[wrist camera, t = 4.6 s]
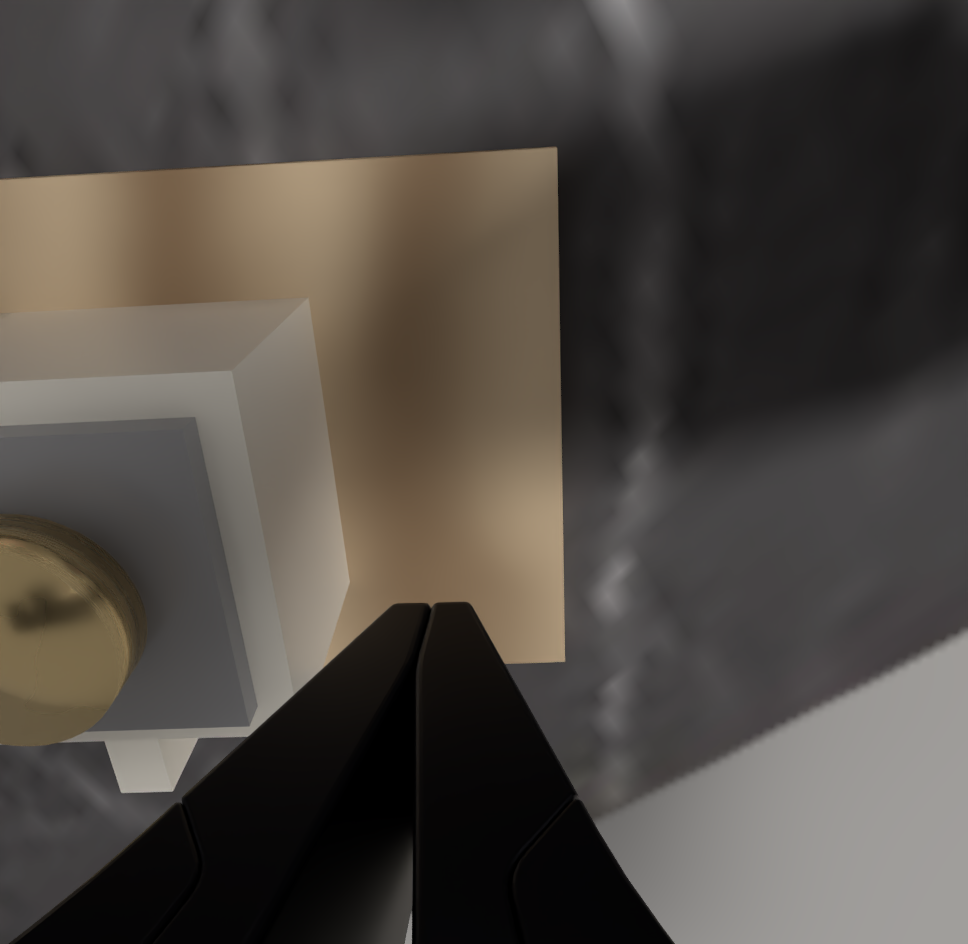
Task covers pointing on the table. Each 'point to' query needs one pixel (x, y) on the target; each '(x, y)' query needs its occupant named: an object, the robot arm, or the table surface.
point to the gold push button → (61, 631)
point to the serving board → (366, 345)
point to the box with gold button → (185, 503)
